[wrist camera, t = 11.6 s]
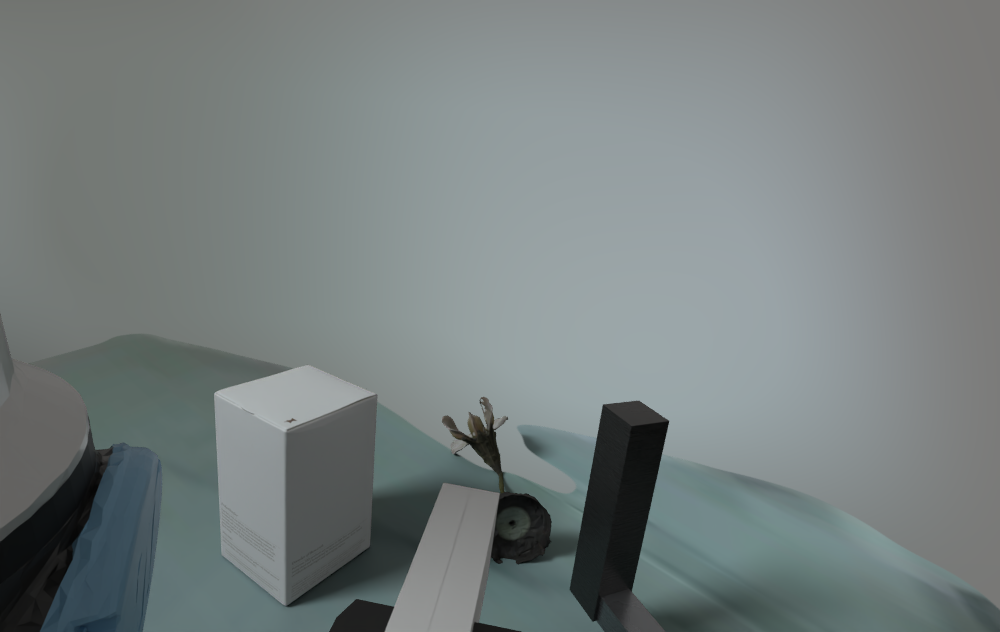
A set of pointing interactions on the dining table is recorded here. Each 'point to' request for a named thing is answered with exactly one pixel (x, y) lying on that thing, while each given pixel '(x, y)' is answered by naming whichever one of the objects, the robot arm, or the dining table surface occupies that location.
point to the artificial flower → (505, 495)
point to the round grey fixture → (618, 516)
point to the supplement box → (294, 477)
